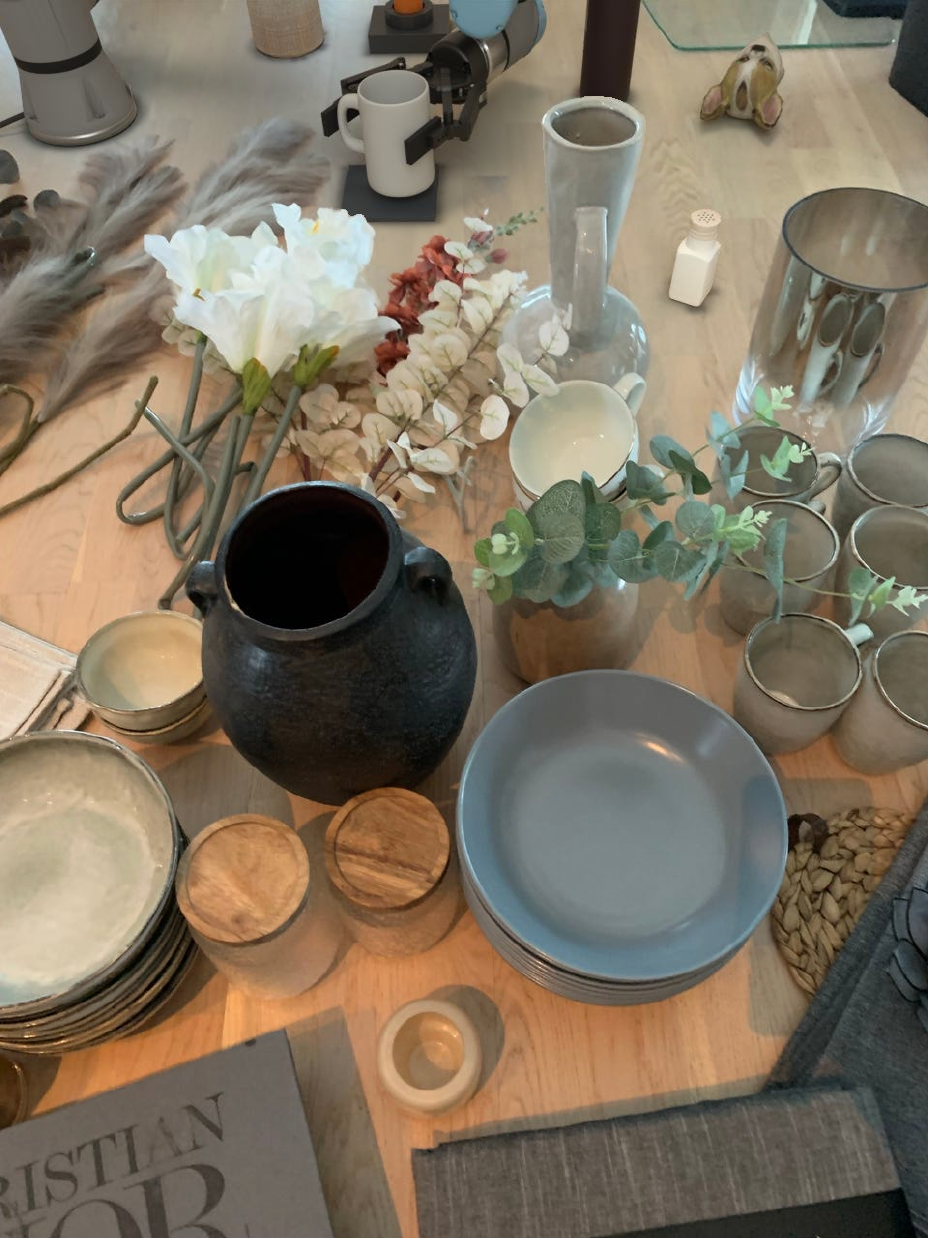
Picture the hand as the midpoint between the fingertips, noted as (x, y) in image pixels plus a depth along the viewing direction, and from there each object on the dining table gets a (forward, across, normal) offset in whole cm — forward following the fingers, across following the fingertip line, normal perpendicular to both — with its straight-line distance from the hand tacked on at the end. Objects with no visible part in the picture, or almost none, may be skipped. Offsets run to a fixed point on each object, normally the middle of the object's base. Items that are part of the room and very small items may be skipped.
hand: (365, 138), depth 102 cm
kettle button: (-40, +23, -5) cm, 46 cm away
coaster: (-4, 0, -9) cm, 10 cm away
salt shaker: (-5, -42, -9) cm, 43 cm away
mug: (-4, 0, -7) cm, 8 cm away
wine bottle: (-39, -12, -9) cm, 42 cm away
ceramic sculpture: (-45, -31, -9) cm, 55 cm away
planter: (-29, +38, -9) cm, 49 cm away
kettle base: (-40, +23, -9) cm, 47 cm away
